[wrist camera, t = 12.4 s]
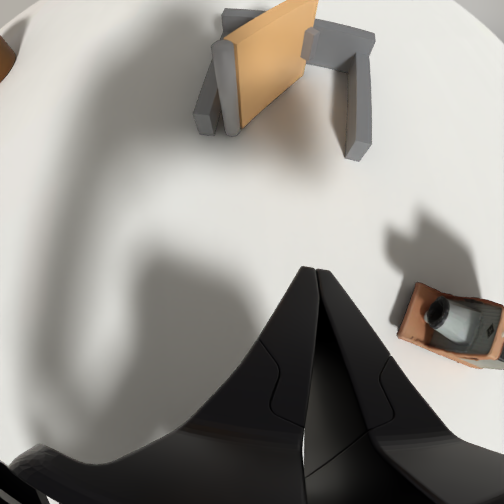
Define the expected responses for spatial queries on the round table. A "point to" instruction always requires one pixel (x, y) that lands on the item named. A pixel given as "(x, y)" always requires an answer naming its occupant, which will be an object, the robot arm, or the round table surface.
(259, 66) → the side door
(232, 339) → the round table surface
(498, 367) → the electronic device
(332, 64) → the grey cabinet body
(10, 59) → the mug
